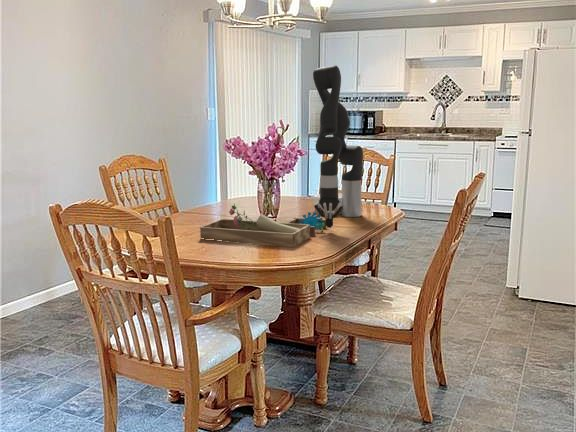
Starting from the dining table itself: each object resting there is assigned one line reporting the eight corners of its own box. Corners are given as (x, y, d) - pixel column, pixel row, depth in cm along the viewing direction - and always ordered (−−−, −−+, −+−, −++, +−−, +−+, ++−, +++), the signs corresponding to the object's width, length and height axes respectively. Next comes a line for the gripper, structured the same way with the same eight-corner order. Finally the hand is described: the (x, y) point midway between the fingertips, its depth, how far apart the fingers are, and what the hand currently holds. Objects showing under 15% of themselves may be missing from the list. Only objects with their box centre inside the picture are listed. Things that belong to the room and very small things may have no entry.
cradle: (295, 225, 254) (295, 217, 253) (326, 227, 248) (326, 219, 248) (280, 233, 239) (280, 224, 238) (313, 235, 234) (313, 227, 233)
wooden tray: (222, 230, 247) (221, 218, 246) (310, 236, 231) (310, 224, 230) (199, 239, 230) (199, 227, 229) (293, 247, 214) (293, 234, 214)
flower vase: (292, 261, 224) (218, 233, 238) (307, 245, 233) (235, 220, 247) (293, 235, 218) (217, 209, 232) (308, 221, 227) (234, 196, 241)
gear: (295, 228, 240) (304, 208, 245) (298, 235, 245) (307, 216, 249) (319, 233, 236) (327, 214, 240) (321, 241, 240) (330, 222, 245)
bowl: (350, 215, 277) (351, 198, 275) (315, 215, 277) (315, 198, 276) (348, 208, 294) (348, 192, 292) (314, 209, 294) (314, 193, 292)
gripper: (347, 185, 237) (347, 226, 240) (316, 184, 242) (317, 224, 245) (341, 187, 230) (342, 230, 233) (310, 186, 235) (311, 228, 238)
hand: (329, 227), depth 239 cm, fingers closed
